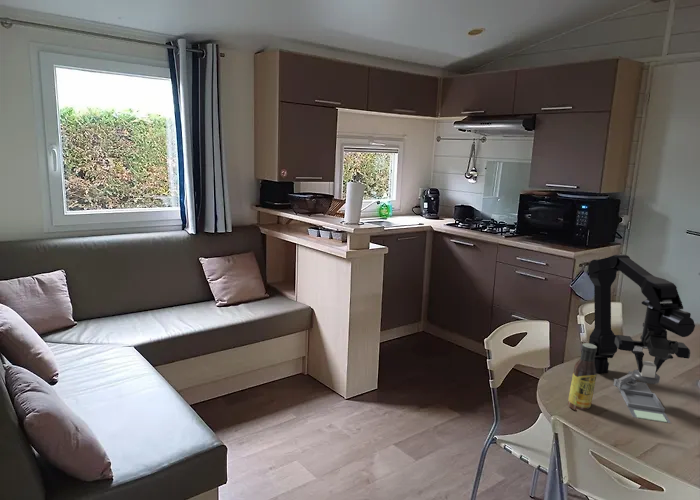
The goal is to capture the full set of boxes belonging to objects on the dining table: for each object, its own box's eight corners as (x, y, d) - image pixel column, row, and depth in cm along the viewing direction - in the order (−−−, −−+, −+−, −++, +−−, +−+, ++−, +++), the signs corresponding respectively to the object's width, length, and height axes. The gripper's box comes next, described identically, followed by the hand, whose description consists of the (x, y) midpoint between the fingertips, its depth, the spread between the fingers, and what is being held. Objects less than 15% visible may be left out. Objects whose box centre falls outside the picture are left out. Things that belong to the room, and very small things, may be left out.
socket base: (632, 420, 147) (633, 414, 146) (612, 381, 170) (613, 375, 170) (670, 427, 144) (672, 419, 144) (645, 386, 168) (646, 380, 167)
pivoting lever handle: (612, 387, 162) (613, 379, 161) (629, 379, 169) (630, 370, 168) (620, 391, 160) (621, 382, 159) (637, 382, 167) (638, 373, 166)
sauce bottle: (576, 414, 149) (586, 350, 145) (562, 403, 155) (571, 342, 150) (595, 412, 151) (605, 349, 146) (581, 401, 157) (590, 340, 152)
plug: (636, 381, 151) (638, 366, 150) (629, 371, 158) (632, 357, 157) (662, 385, 150) (665, 370, 149) (655, 375, 156) (657, 360, 155)
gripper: (627, 329, 145) (618, 380, 148) (702, 338, 140) (691, 390, 144) (618, 316, 155) (610, 364, 159) (687, 324, 151) (678, 373, 154)
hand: (646, 372), depth 153 cm, fingers closed on plug, 3 cm apart
